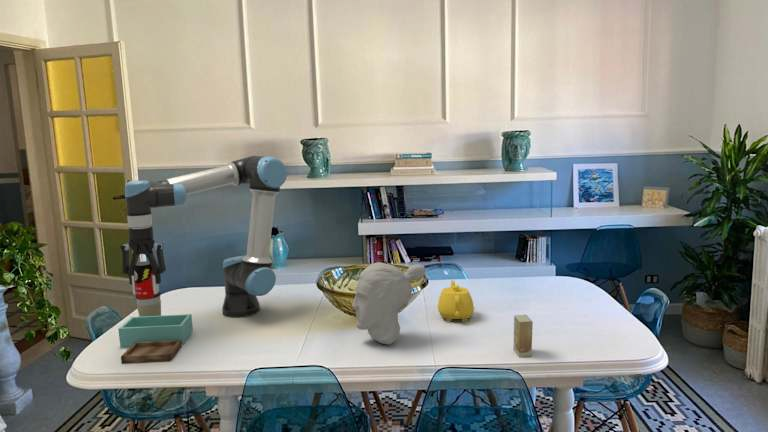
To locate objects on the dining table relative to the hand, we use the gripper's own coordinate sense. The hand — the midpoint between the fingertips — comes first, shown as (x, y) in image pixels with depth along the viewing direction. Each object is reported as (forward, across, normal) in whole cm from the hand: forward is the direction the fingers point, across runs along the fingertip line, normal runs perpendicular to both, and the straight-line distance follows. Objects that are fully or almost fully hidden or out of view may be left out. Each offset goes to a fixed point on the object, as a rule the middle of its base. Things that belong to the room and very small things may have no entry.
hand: (146, 292), depth 192 cm
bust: (+20, -84, -2) cm, 86 cm away
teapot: (+19, -110, -23) cm, 114 cm away
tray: (+21, -2, +4) cm, 21 cm away
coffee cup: (+21, +9, -23) cm, 32 cm away
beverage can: (+2, 0, 0) cm, 2 cm away
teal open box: (+21, +1, -10) cm, 23 cm away
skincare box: (+19, -126, +13) cm, 129 cm away
